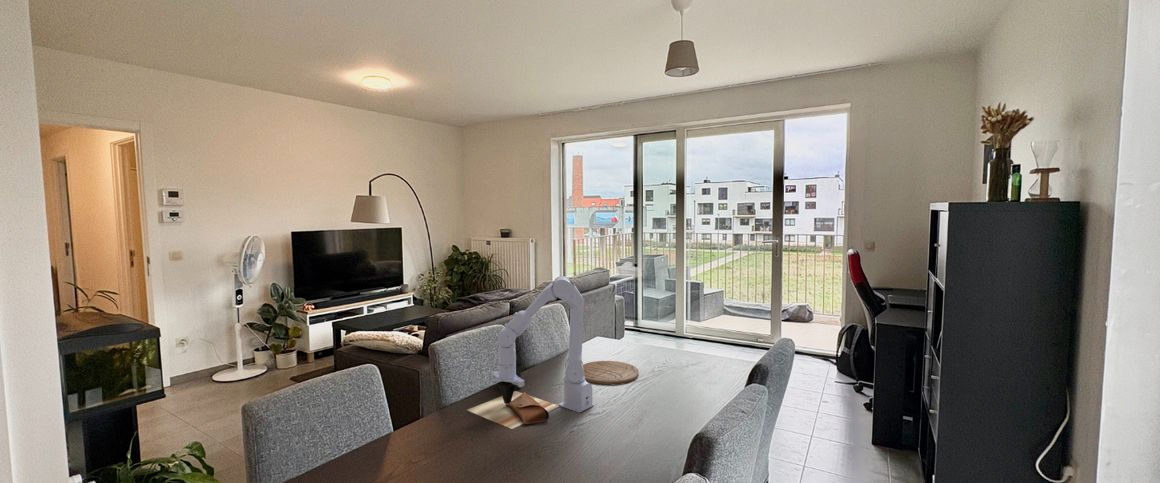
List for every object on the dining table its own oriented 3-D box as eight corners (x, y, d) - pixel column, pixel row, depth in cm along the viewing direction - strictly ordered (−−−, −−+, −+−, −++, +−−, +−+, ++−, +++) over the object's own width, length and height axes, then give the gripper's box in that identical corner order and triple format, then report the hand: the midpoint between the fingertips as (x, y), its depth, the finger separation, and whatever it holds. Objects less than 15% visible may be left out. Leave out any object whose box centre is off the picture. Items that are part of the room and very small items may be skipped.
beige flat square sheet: (560, 406, 161) (560, 406, 161) (511, 429, 144) (511, 428, 144) (515, 391, 175) (515, 390, 175) (466, 410, 158) (466, 409, 158)
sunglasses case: (503, 404, 161) (512, 385, 163) (519, 410, 165) (528, 392, 166) (524, 424, 146) (534, 404, 147) (542, 431, 149) (552, 411, 150)
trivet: (599, 361, 212) (599, 357, 211) (649, 372, 197) (649, 367, 197) (564, 377, 191) (564, 372, 191) (618, 390, 177) (618, 385, 177)
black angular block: (516, 388, 173) (509, 347, 178) (504, 393, 184) (497, 354, 188) (526, 386, 175) (518, 346, 180) (513, 391, 186) (506, 353, 190)
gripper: (484, 362, 162) (484, 400, 163) (513, 370, 153) (513, 412, 154) (499, 357, 168) (500, 394, 169) (528, 365, 159) (529, 405, 159)
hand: (507, 402), depth 162 cm, fingers closed
